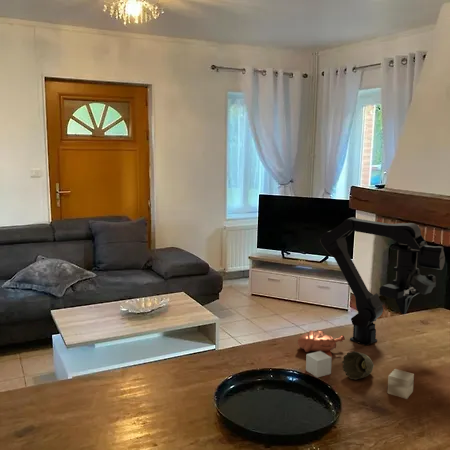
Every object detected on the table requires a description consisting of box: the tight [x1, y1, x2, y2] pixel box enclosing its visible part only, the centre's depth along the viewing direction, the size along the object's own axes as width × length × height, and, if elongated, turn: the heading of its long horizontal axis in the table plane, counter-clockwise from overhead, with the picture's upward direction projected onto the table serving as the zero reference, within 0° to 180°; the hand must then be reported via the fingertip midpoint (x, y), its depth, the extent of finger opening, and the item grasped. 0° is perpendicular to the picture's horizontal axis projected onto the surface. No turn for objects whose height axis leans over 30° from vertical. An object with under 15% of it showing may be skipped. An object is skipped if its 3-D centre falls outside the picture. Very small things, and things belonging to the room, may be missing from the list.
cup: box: [341, 350, 374, 381], centre depth 139 cm, size 8×7×8 cm
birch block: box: [386, 368, 415, 400], centre depth 130 cm, size 5×5×5 cm
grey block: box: [305, 351, 333, 378], centre depth 141 cm, size 5×5×5 cm
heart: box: [297, 329, 346, 357], centre depth 157 cm, size 6×12×15 cm
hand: (403, 313), depth 154 cm, fingers closed
